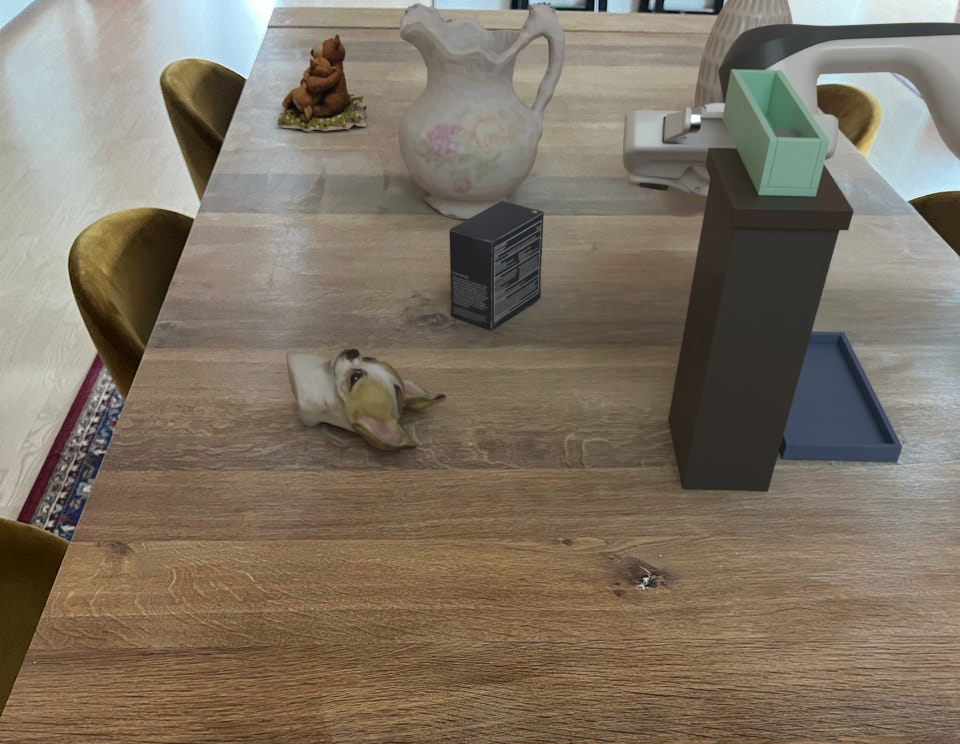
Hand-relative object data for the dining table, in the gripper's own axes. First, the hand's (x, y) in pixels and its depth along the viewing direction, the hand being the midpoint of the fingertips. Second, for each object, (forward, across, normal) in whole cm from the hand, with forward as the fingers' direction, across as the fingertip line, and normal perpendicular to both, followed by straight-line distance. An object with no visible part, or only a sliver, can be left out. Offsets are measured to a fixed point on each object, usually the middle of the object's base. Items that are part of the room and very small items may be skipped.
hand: (746, 118), depth 87 cm
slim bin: (+8, 0, -5) cm, 9 cm away
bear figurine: (-85, +52, +19) cm, 101 cm away
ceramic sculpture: (-4, +35, -28) cm, 45 cm away
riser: (-1, 0, -30) cm, 30 cm away
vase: (-63, -12, +6) cm, 65 cm away
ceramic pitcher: (-55, +25, +1) cm, 60 cm away
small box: (-27, +22, -15) cm, 38 cm away
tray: (-10, -12, -24) cm, 29 cm away
